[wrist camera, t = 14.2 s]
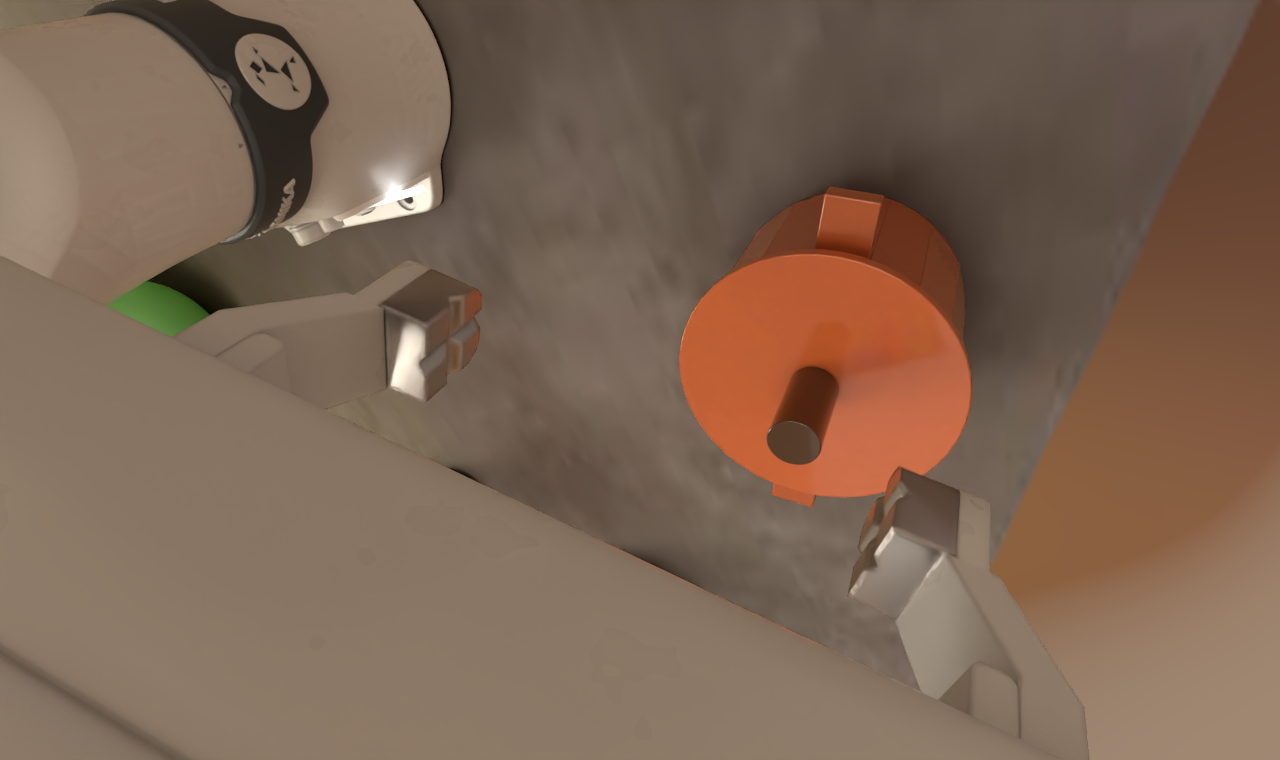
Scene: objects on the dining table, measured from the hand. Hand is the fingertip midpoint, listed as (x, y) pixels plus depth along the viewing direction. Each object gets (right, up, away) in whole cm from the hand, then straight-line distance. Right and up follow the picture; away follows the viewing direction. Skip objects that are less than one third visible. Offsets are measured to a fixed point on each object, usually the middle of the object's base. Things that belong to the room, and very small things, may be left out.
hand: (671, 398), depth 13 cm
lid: (+8, 0, +22) cm, 23 cm away
